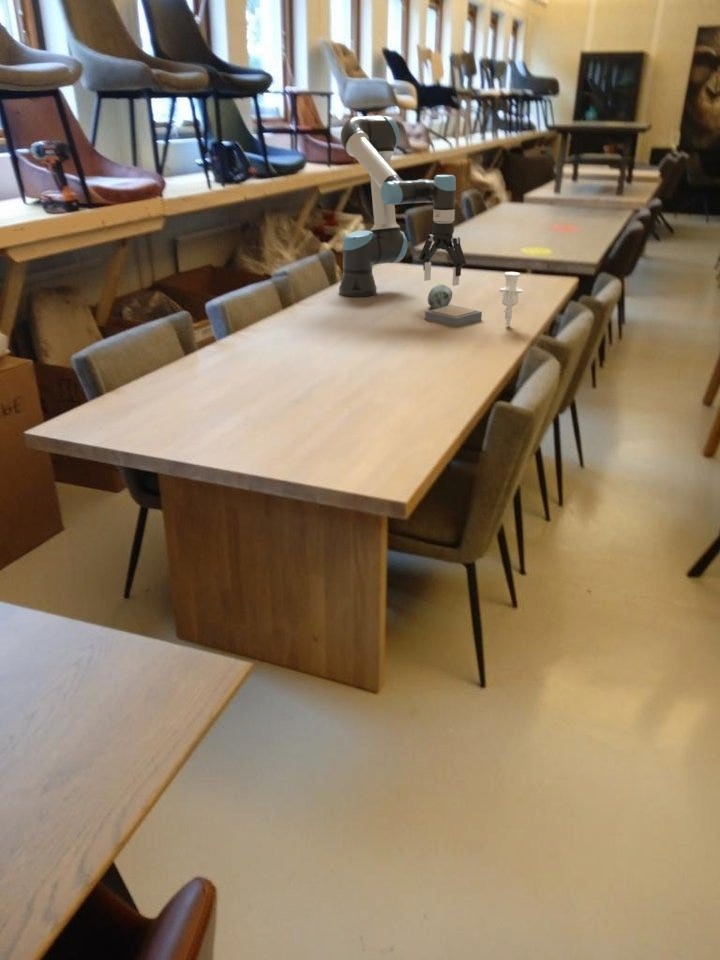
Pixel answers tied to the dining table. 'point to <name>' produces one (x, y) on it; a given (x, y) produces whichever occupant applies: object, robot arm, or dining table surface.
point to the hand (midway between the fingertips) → (441, 282)
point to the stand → (453, 315)
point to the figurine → (510, 294)
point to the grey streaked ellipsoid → (439, 296)
